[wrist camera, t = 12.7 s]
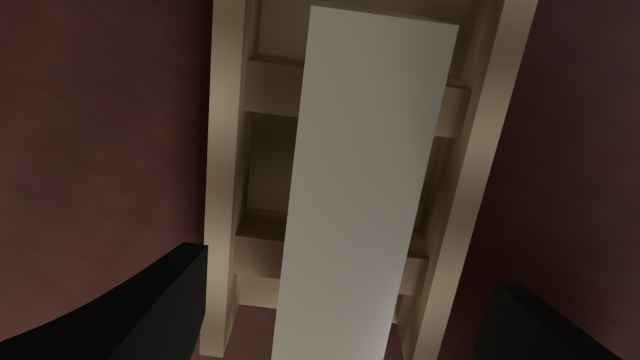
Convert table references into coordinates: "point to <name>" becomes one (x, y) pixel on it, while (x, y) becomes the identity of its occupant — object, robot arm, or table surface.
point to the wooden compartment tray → (279, 148)
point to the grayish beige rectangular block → (357, 177)
